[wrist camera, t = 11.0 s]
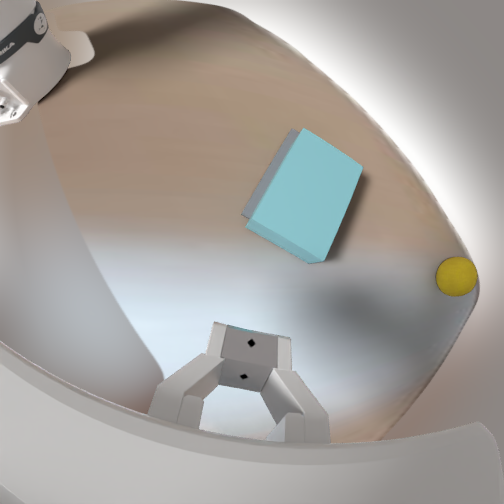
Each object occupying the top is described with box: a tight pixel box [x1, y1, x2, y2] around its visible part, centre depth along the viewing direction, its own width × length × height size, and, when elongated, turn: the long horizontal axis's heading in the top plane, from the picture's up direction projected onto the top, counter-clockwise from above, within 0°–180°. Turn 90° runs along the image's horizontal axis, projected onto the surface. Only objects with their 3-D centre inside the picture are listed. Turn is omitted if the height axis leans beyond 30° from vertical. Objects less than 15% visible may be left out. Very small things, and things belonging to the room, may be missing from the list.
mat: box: [241, 129, 299, 219], centre depth 31 cm, size 13×10×1 cm
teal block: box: [246, 128, 363, 264], centre depth 28 cm, size 4×8×12 cm
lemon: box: [436, 257, 478, 296], centre depth 30 cm, size 6×6×8 cm
